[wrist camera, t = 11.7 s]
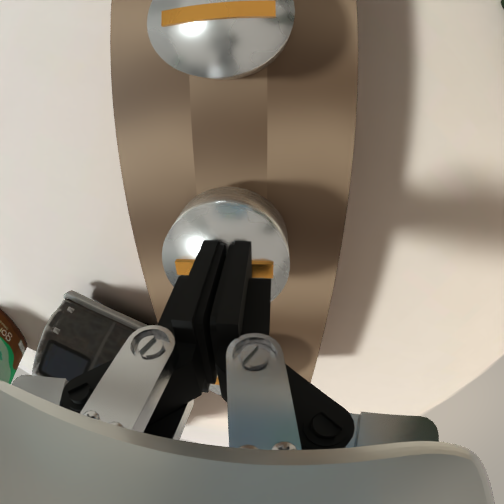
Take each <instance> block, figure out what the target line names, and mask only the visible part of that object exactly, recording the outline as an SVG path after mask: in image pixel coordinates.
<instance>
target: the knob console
mask: <svg viewBox="0 0 504 504" xmlns="http://www.w3.org/2000/svg"><path fill="white" fill-rule="evenodd" d="M293 1H294V7H295V19H294V23H293V27H292V30H291V33H290V36H289V39H288V41H287V44H286V46H285V47H284V49H283V51H282V52H281V53H280V55H279V56H278V57H277V58H276V59H275V60H274V61H273V62H272V63H271V64H269V65H268V66H267V67H265V68H264V69H262V70H260V71H259V72H256V73H254V74H252V75H249V76H246V77H242V78H238V79H230V80H218V79H210V78H204V77H198V76H194V75H190V74H187V73H184V72H181V71H179V70H177V69H175V68H173V67H172V66H170V65H169V64H167V63H166V62H165V61H164V60H163V59H162V58H161V57H160V56H159V55H158V54H157V53H156V51H155V49H154V48H153V46H152V44H151V42H150V39H149V36H148V31H147V16H148V12H149V8H150V5H151V2H152V0H112V3H111V35H110V46H111V79H112V95H113V108H114V118H115V128H116V137H117V145H118V152H119V159H120V166H121V172H122V178H123V184H124V190H125V195H126V201H127V206H128V211H129V216H130V221H131V225H132V230H133V234H134V239H135V243H136V247H137V251H138V255H139V259H140V263H141V267H142V271H143V275H144V278H145V282H146V285H147V289H148V292H149V296H150V299H151V303H152V306H153V309H154V313H155V316H156V319H157V322H159V320H160V318H161V315H162V313H163V311H164V308H165V306H166V304H167V301H168V299H169V297H170V295H171V292H172V290H173V288H174V287H173V286H172V284H171V283H170V281H169V279H168V278H167V275H166V273H165V271H164V267H163V262H162V248H163V244H164V241H165V238H166V236H167V234H168V232H169V230H170V229H171V227H172V226H173V224H174V223H175V221H176V220H177V218H178V216H179V215H180V213H181V212H182V210H183V209H184V208H185V206H186V205H187V204H188V203H189V202H190V201H191V200H192V199H193V198H194V197H196V196H197V195H199V194H200V193H202V192H204V191H207V190H210V189H213V188H218V187H227V186H229V187H239V188H244V189H247V190H251V191H253V192H255V193H257V194H259V195H261V196H262V197H264V198H266V199H267V200H268V201H269V202H270V203H272V204H273V206H274V207H275V208H276V209H277V210H278V212H279V213H280V215H281V216H282V218H283V220H284V223H285V226H286V229H287V236H288V247H289V258H290V271H289V276H288V279H287V282H286V284H285V286H284V288H283V290H282V291H281V292H280V294H279V295H278V296H277V297H276V298H275V299H274V300H273V301H271V306H270V333H269V336H270V337H272V338H273V339H275V340H276V341H277V342H278V343H279V344H280V346H281V348H282V351H283V355H284V360H285V364H287V365H288V366H289V367H290V368H292V369H293V370H294V371H295V372H297V373H298V374H299V375H301V376H302V377H303V378H304V379H306V380H307V381H308V382H310V383H311V379H312V375H313V372H314V368H315V364H316V361H317V357H318V353H319V349H320V345H321V341H322V337H323V333H324V329H325V324H326V320H327V316H328V311H329V306H330V302H331V297H332V292H333V287H334V282H335V277H336V272H337V267H338V261H339V256H340V250H341V244H342V238H343V231H344V225H345V218H346V211H347V204H348V196H349V188H350V180H351V171H352V161H353V150H354V139H355V125H356V109H357V85H358V25H357V3H356V0H293Z"/></svg>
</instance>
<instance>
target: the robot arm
mask: <svg viewBox="0 0 504 504" xmlns="http://www.w3.org/2000/svg"><path fill="white" fill-rule="evenodd" d="M270 306H271V278H252V246H251V241H235V244H234V245H229V247H228V251H227V255H226V246H225V245H222V244H220V241H219V240H203V242H202V245H201V247H200V249H199V252H198V254H197V256H196V259H195V261H194V263H193V266H192V268H191V270H190V273H189V275H180V276H179V277H178V279H177V281H176V283H175V286H174V288H173V290H172V292H171V295H170V297H169V299H168V301H167V304H166V306H165V308H164V311H163V313H162V315H161V318H160V320H159V322H158V325H150V326H145V327H142V328H139V329H138V330H136V331H135V332H133V333H132V334H131V335H130V336H129V337H128V339H127V340H126V342H125V343H124V345H123V346H122V348H121V349H120V351H119V352H118V354H117V355H116V357H115V358H114V359H112V360H110V361H108V362H106V363H104V364H102V365H100V366H98V367H96V368H94V369H92V370H89V371H87V372H85V373H83V374H81V375H79V376H77V377H75V378H73V379H72V380H70V381H69V382H68V381H67V380H66V378H53V377H42V376H33V375H21V376H19V377H17V378H16V379H15V380H14V381H13V383H12V385H11V384H9V383H7V382H4V381H1V380H0V504H495V502H494V497H493V492H492V488H491V484H490V481H489V478H488V475H487V472H486V470H485V467H484V465H483V463H482V462H481V460H480V459H479V457H478V456H477V455H476V454H475V453H474V452H472V451H471V450H469V449H467V448H465V447H462V446H459V445H456V444H450V443H445V442H439V440H438V439H439V438H438V437H439V435H438V430H437V427H436V426H435V424H434V423H433V422H432V421H431V420H429V419H428V418H425V417H421V416H404V415H390V414H378V413H368V412H361V414H352V413H349V412H348V411H347V410H346V409H345V408H343V407H342V406H340V405H339V404H338V403H336V402H335V401H334V400H332V399H331V398H330V397H328V396H327V395H326V394H324V393H323V392H322V391H320V390H319V389H318V388H316V387H315V386H314V385H312V384H311V383H310V382H308V381H307V380H306V379H304V378H303V377H302V376H301V375H299V374H298V373H297V372H295V371H294V370H293V369H292V368H290V367H289V366H288V365H287V364H285V360H284V355H283V351H282V348H281V346H280V344H279V343H278V342H277V341H276V340H275V339H273V338H272V337H270V336H269V333H270ZM217 375H218V380H219V385H220V391H221V396H222V398H223V399H224V400H225V401H226V402H227V404H228V429H229V447H222V446H214V445H206V444H199V443H192V442H186V441H180V440H179V439H180V437H181V434H182V432H183V430H184V427H185V425H186V422H187V420H188V417H189V415H190V412H191V410H192V408H193V404H194V399H195V398H197V397H198V396H200V395H201V394H202V392H208V391H209V386H210V384H215V383H216V379H217Z"/></svg>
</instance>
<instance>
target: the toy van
mask: <svg viewBox="0 0 504 504" xmlns="http://www.w3.org/2000/svg"><path fill="white" fill-rule="evenodd" d="M64 298H65V300H63V302H62V304H61V305H60V306H59V308H58V309H57V310H56V311H55V312H54V313H53V314H52V315H51V317H50V319H49V321H48V322H47V324H46V326H45V328H44V330H43V333H42V336H41V339H40V342H39V345H38V348H37V351H36V355H35V359H34V364H33V370H32V375H33V376H42V377H53V378H66V380H67V381H68V382H69V381H70V380H72V379H73V378H75V377H77V376H79V375H81V374H83V373H85V372H87V371H89V370H92V369H94V368H96V367H98V366H100V365H102V364H104V363H106V362H108V361H110V360H112V359H114V358H115V357H116V355H117V354H118V352H119V351H120V349H121V348H122V346H123V345H124V343H125V342H126V340H127V339H128V337H129V336H130V335H131V334H132V333H133V332H135V331H136V330H138V329H139V328H142V327H145V326H149V325H146V324H144V323H142V322H139V321H137V320H135V319H133V318H130V317H128V316H126V315H124V314H122V313H120V312H117V311H115V310H113V309H111V308H108V307H106V306H104V305H102V304H100V303H98V302H95V301H93V300H91V299H89V298H87V297H85V296H83V295H81V294H79V293H77V292H74V291H72V290H71V291H69V292H67V293H66V294H64ZM67 298H68V299H67Z"/></svg>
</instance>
